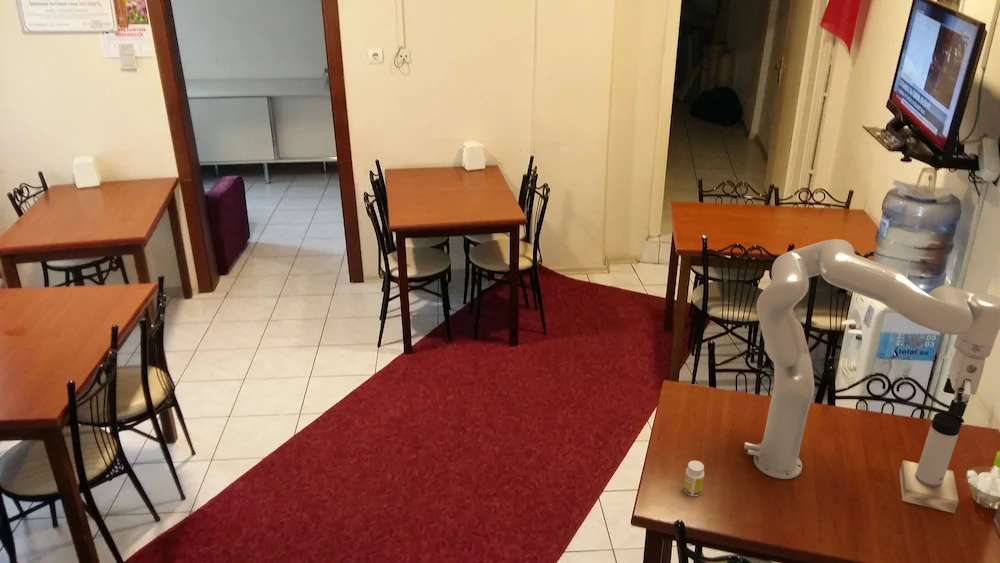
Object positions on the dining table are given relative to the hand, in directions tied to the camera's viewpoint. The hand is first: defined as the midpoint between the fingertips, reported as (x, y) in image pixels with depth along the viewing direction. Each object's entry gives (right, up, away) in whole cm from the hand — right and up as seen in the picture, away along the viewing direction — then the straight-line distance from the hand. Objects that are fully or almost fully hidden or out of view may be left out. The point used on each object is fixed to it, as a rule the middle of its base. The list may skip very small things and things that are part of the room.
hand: (952, 403), depth 188 cm
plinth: (+1, -25, +13) cm, 28 cm away
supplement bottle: (-61, -25, +13) cm, 67 cm away
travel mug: (0, -22, +11) cm, 24 cm away
